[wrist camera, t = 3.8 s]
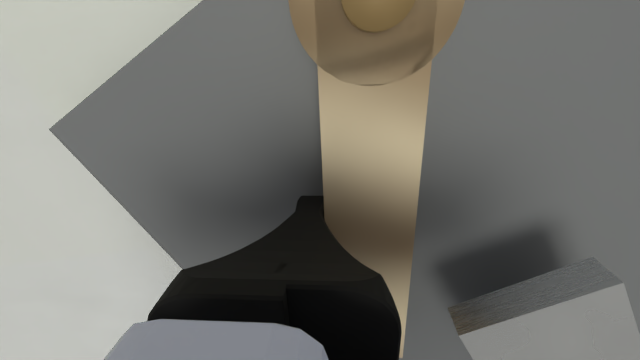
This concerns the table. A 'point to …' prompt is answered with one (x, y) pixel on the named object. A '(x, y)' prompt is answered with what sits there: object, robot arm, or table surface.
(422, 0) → the link
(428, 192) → the board
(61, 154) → the table surface
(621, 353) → the block
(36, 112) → the table surface
